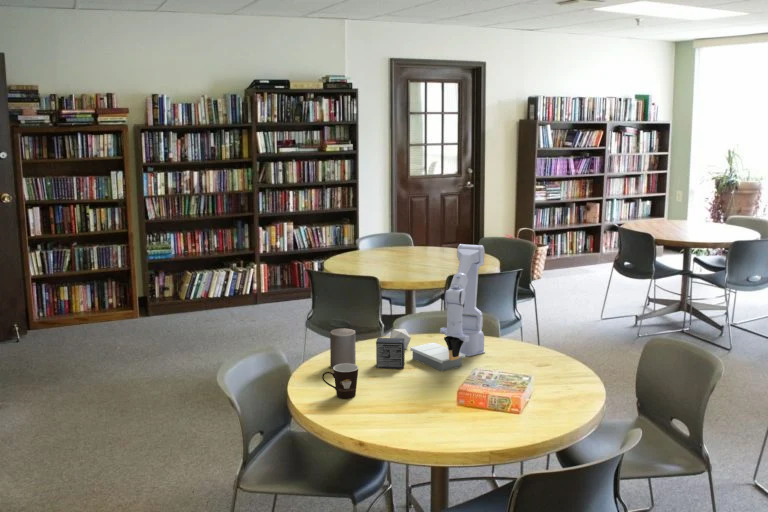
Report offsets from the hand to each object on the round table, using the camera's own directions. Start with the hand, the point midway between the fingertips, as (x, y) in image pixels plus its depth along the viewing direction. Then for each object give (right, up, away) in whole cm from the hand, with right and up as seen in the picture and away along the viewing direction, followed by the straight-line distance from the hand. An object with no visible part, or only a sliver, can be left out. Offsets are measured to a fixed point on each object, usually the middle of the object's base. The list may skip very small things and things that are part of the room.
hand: (454, 355), depth 282 cm
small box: (-24, -5, +5) cm, 25 cm away
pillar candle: (-42, -5, +5) cm, 42 cm away
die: (-20, -1, +27) cm, 34 cm away
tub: (-6, -4, +9) cm, 11 cm away
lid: (-5, 0, +8) cm, 10 cm away
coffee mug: (-41, -10, -24) cm, 48 cm away
